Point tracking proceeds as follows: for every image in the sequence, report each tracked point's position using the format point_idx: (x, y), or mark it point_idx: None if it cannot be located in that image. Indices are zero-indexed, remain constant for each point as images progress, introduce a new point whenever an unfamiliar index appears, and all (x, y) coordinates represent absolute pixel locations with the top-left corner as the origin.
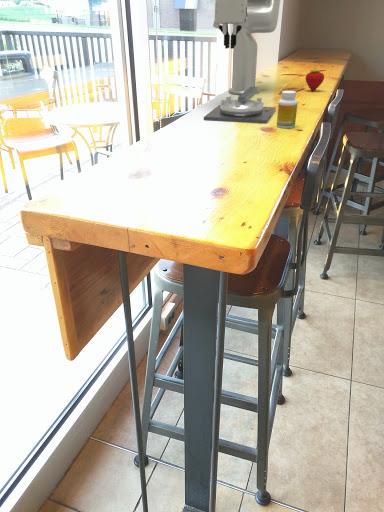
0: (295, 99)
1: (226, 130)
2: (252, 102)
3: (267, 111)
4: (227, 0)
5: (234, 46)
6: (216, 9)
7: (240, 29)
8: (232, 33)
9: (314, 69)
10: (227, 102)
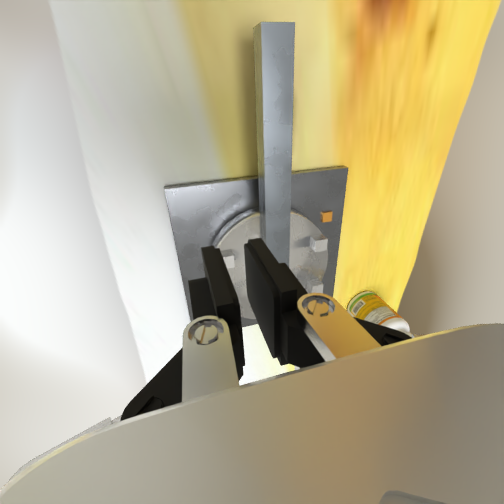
0: (408, 331)
1: (266, 367)
2: (298, 244)
3: (328, 230)
4: None
5: (262, 242)
6: None
7: (381, 335)
8: (291, 358)
9: None
10: (228, 271)
